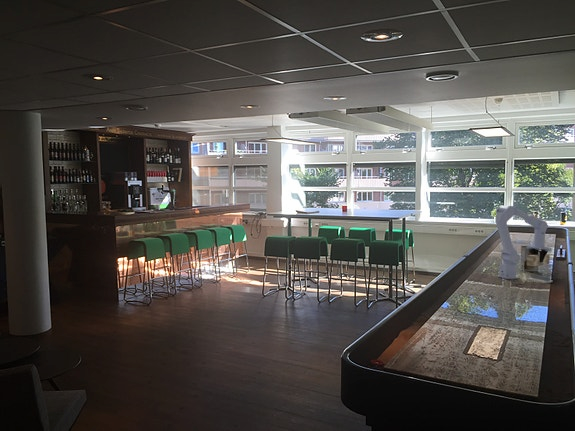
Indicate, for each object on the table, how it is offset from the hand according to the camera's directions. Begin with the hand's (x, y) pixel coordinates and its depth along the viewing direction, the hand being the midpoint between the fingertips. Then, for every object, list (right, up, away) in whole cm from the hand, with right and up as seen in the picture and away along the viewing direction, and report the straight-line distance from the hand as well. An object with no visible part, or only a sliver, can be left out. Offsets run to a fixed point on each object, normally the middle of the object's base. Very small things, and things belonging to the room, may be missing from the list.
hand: (538, 261), depth 279 cm
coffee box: (+5, -8, +21) cm, 23 cm away
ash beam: (0, -2, 0) cm, 2 cm away
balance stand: (-5, -10, -11) cm, 16 cm away
